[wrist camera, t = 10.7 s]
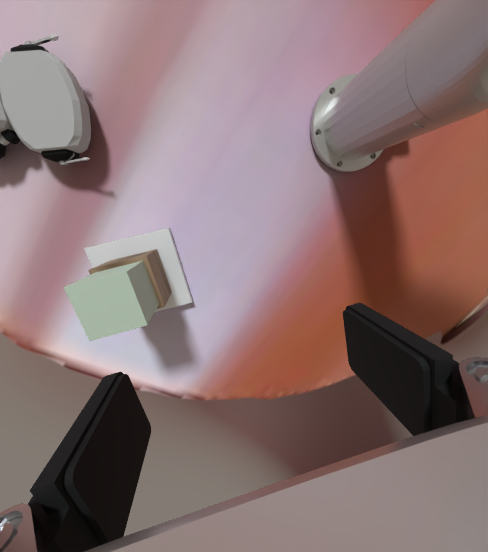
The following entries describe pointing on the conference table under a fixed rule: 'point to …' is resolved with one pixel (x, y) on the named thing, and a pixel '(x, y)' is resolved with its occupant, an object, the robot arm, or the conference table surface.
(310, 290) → the conference table surface
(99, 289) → the green block
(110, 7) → the conference table surface
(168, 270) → the build plate
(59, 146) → the robot toy
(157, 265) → the walnut block
